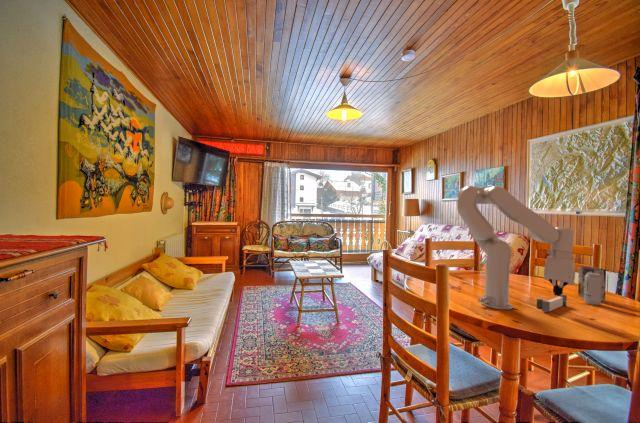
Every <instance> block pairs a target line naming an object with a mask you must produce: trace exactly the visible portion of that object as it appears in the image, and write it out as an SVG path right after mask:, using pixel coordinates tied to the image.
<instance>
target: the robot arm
mask: <svg viewBox="0 0 640 423" xmlns="http://www.w3.org/2000/svg"><path fill="white" fill-rule="evenodd" d="M456 205H457V206H456V207H457V208H456V209H457V212H458V214H459V216H460V218H461V219H462V221H463V222H464V223H465V225H466V227H468V233H469V234H470V236H471V237H472V238H473V240H474V241H475V243H476V244H477V246H479V248H480V249H481V250H482V251H483V253H484V254H486V261H485V282H484V283H485V286H484V287H485V289H484V290H485V291H484V294H483V296H482V297H477V302H478V303H481V304H482V305H483V306H485V307H487V308H490V309H494V310H495V309H496V310H501V311H502V310H503V311H509V310H512V309H513V305H512V303H510V302H509V300H510V298H509V295H510V265H511V257H512V249H511V246H510V245H509V243H508V242H506V241H505V240H503V239H501V238H499V237H498V236H497V234H496V233H495V229H494V227H493V225H492V224H491V223H490V222H489V220H487V218H486V217H485V216H484V214H482V212H481V211H480V209H479V207H478V205H493V207H495V208H496V209H498V211H500V212H501V213H502V214H503V215H504V216H505V217H507V218H508V219H509V220H511V221H513V222H515V223H517V224H519V225H520V226H523V227H525V228H526V229H527V230H529V237H530V238H532V240H534V241H536V242H540V243H545V244H550V249H549V250H546V252H545V253H546V254H549V255H547V257H546V259H545V263H544V269H543V279H544V280H545V281H548V282H550V284H551V285H552V286H553V287H552V292H553V293H554V296H557V297H558V296H560V295H561V294H563V291H564V287H566V286H574V285H575V280H576V279H575V278H576V267H575V266H576V265H575V260H574V259H573V249H574V248H573V247H574V239H575V238H574V237H575V230H574V229H573V228H571V227H563V226H554V225H553V224H551V223H550V221H548V220H546V219H545V217H542V215H540V214H538V213H537V212H535V211H533V210H532V209H531V208H529V207H528V206H526V205H525V204H523V203H522V202H521V201H519V200H518V199H517V198H516V197H515V196H514V195H512V194H511V193H510V192H508V191H507V190H506V189H505V188H504V187H502V186H500V185H493V186H490V187H487V186H486V187H475V186H474V185H466V186H464V187H461V189H459V191H458V192H457V202H456ZM558 281H559V283H558Z"/></svg>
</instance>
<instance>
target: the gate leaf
mask: <svg viewBox="0 0 640 423" xmlns="http://www.w3.org/2000/svg"><path fill="white" fill-rule="evenodd" d="M560 307H564V306H563V297H558V296H557V297H554V298H550V299H548V300H543V301H542V309H541V312H545V313H550V312H551V311H553V310H556V309H558V308H560Z"/></svg>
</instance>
